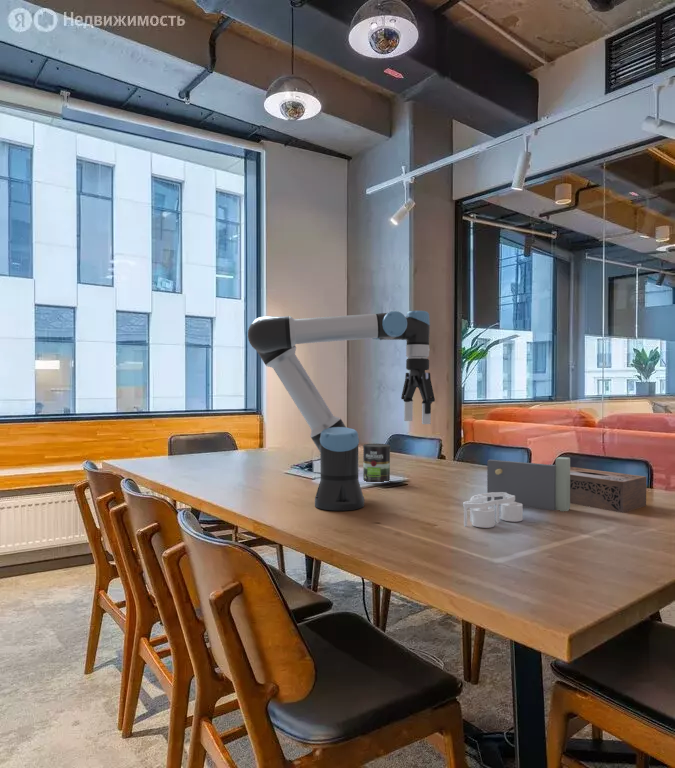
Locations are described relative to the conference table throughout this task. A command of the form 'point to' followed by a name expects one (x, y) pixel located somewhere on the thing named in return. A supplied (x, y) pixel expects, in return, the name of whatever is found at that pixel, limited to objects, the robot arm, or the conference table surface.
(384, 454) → the coffee can
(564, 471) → the door leaf
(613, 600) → the conference table surface
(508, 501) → the white framed double cylinder
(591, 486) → the tissue box cover
